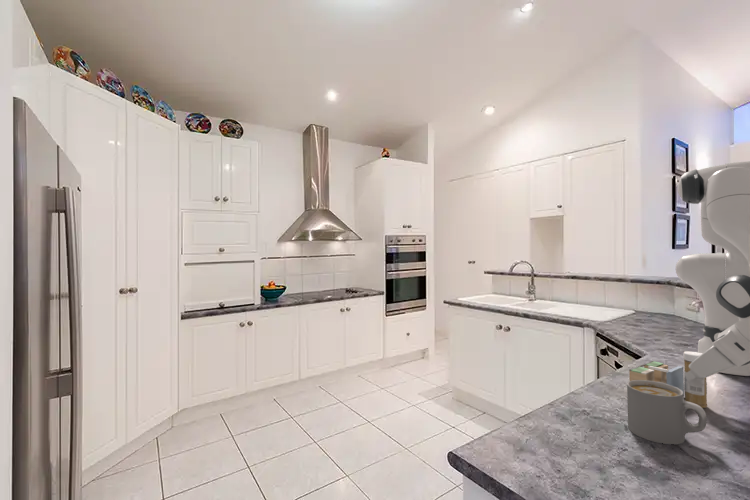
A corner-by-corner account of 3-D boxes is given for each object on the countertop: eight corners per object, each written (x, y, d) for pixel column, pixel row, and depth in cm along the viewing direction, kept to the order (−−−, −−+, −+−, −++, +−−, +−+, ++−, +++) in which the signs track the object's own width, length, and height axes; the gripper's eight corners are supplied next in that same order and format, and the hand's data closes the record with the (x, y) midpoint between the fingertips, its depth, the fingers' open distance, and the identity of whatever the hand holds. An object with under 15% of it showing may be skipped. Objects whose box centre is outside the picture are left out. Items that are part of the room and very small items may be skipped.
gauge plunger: (663, 390, 103) (662, 360, 103) (684, 395, 99) (683, 364, 99) (649, 397, 98) (648, 366, 98) (670, 403, 94) (669, 370, 94)
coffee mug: (620, 430, 81) (619, 386, 81) (638, 418, 87) (637, 376, 87) (698, 457, 70) (696, 406, 70) (712, 441, 76) (711, 394, 76)
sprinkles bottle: (710, 406, 93) (709, 353, 93) (703, 410, 90) (703, 356, 91) (687, 399, 97) (687, 349, 97) (681, 403, 94) (680, 352, 94)
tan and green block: (652, 385, 108) (651, 361, 108) (668, 389, 104) (668, 364, 104) (629, 395, 100) (629, 369, 100) (646, 400, 97) (645, 373, 97)
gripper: (743, 328, 93) (696, 357, 102) (715, 340, 83) (665, 371, 91) (768, 349, 89) (717, 377, 98) (742, 364, 79) (687, 394, 87)
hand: (692, 374), depth 94 cm, fingers closed on sprinkles bottle, 4 cm apart
